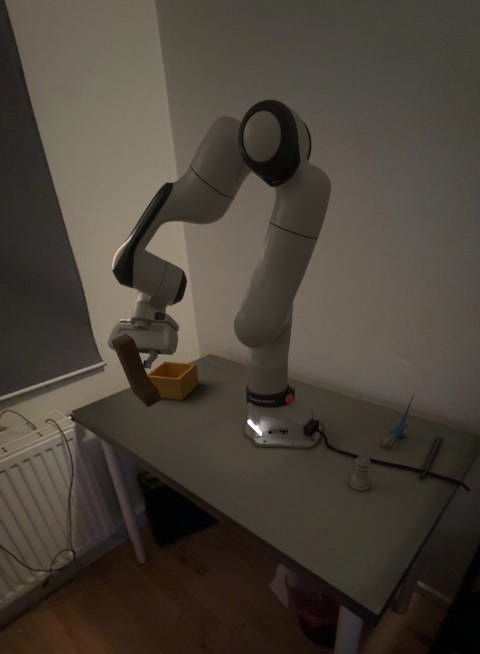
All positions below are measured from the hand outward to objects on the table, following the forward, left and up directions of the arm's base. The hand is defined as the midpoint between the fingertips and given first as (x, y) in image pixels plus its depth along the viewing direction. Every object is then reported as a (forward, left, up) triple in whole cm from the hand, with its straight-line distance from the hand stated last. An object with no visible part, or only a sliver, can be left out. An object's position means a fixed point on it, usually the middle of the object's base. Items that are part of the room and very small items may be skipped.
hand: (136, 366), depth 94 cm
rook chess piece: (-61, +7, -22) cm, 65 cm away
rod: (-77, -8, -22) cm, 81 cm away
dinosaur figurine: (-69, -14, -22) cm, 73 cm away
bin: (+7, -28, -21) cm, 36 cm away
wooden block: (-1, 0, -9) cm, 9 cm away
